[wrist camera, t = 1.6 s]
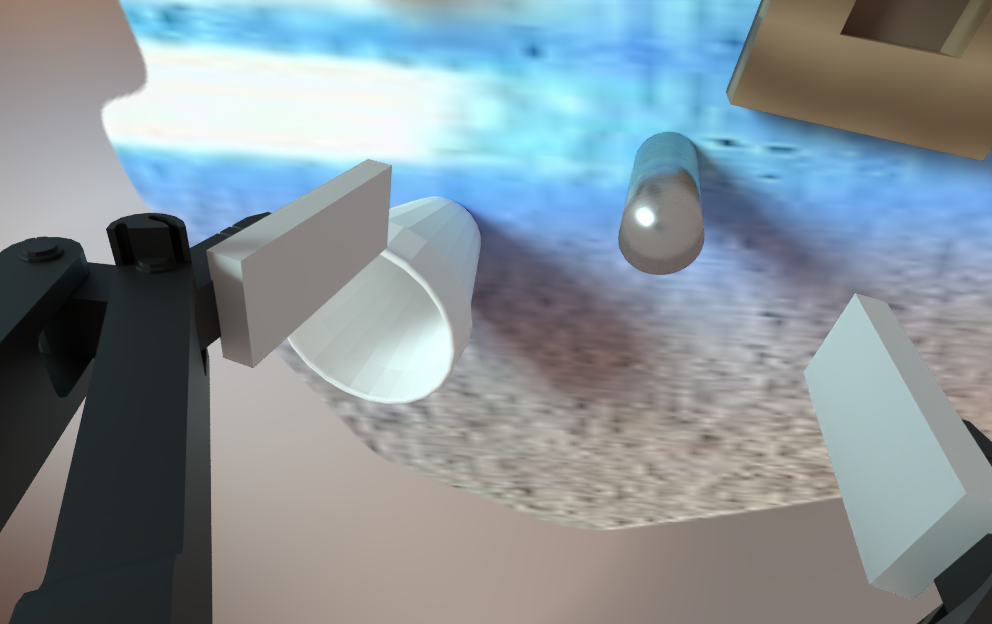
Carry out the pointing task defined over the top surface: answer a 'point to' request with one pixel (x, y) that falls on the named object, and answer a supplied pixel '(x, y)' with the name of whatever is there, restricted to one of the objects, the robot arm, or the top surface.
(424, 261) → the cup
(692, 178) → the pin
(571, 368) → the top surface
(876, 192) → the top surface
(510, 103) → the top surface
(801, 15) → the bore block
